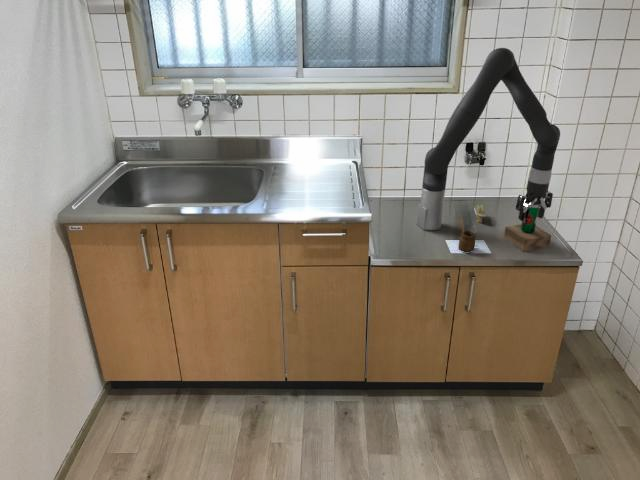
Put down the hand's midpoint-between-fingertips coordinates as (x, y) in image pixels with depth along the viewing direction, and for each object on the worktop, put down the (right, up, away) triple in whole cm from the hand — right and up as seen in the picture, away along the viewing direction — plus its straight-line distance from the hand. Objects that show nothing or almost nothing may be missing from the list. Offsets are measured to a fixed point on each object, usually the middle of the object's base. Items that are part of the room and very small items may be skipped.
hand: (530, 218), depth 195 cm
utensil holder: (-25, -12, 0) cm, 28 cm away
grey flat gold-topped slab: (-13, 0, +24) cm, 27 cm away
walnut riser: (0, -9, +5) cm, 10 cm away
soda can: (0, -5, +3) cm, 5 cm away
